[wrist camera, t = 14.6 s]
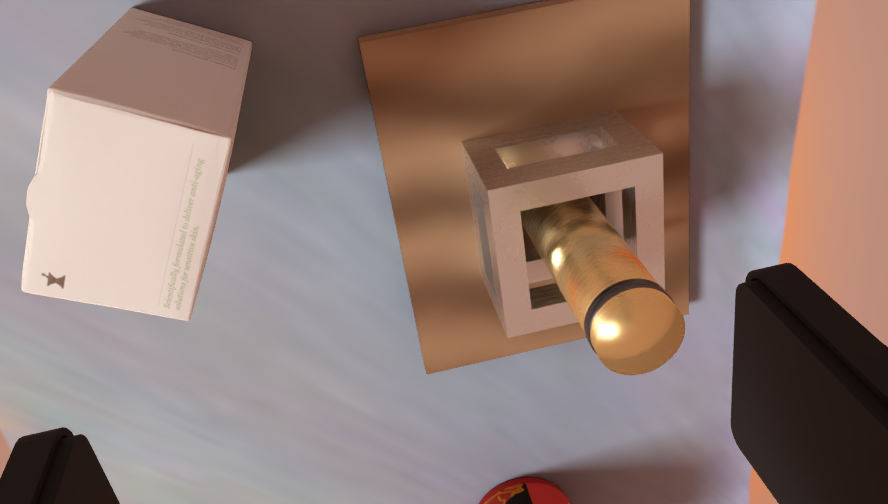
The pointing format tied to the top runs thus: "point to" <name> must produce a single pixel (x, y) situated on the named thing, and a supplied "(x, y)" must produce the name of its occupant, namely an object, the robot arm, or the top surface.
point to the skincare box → (135, 166)
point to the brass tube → (606, 286)
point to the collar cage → (554, 181)
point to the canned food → (525, 493)
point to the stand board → (507, 109)
